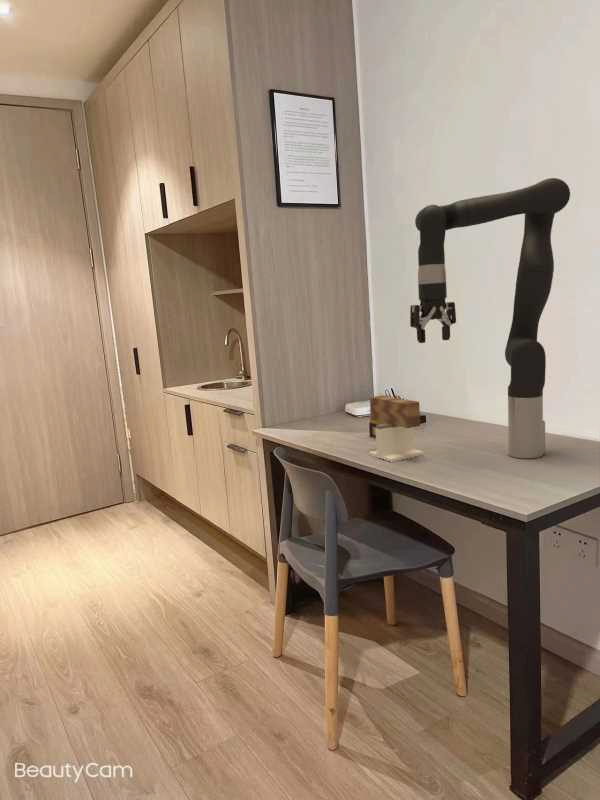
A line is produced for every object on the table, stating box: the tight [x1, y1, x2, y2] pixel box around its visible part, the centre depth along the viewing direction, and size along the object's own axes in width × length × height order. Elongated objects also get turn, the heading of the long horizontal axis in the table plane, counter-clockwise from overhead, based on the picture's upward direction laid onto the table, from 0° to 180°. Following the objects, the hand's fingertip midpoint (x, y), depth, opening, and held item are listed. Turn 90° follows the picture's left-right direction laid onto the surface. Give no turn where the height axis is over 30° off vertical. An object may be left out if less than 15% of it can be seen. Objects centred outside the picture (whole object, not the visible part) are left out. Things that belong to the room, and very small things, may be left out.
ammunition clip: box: [368, 408, 385, 439], centre depth 206 cm, size 11×2×12 cm, turn 30°
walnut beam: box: [369, 394, 421, 428], centre depth 183 cm, size 18×4×7 cm, turn 29°
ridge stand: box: [368, 423, 425, 463], centre depth 184 cm, size 12×11×10 cm
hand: (434, 341), depth 171 cm, fingers open, 8 cm apart
